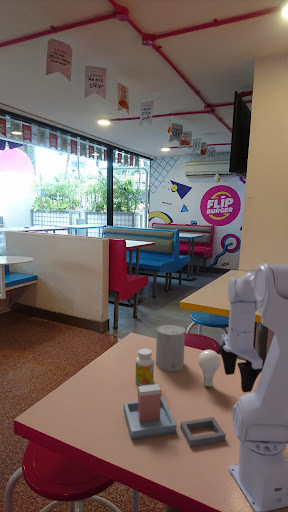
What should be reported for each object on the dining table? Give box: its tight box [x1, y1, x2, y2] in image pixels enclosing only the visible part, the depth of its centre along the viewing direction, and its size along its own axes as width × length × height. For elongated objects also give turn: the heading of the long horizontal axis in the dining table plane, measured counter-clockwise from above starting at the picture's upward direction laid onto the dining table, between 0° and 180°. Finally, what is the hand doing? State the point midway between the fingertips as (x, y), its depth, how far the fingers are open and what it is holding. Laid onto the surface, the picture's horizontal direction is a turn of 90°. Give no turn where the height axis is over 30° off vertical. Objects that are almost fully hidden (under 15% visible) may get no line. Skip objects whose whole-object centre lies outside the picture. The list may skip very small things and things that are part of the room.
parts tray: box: [123, 397, 178, 441], centre depth 73 cm, size 11×11×2 cm
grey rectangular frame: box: [179, 416, 226, 447], centre depth 69 cm, size 6×8×2 cm
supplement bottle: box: [135, 348, 155, 386], centre depth 90 cm, size 5×5×10 cm
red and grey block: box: [137, 383, 162, 423], centre depth 73 cm, size 2×5×8 cm, turn 103°
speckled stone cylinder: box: [155, 323, 186, 372], centre depth 101 cm, size 10×10×12 cm
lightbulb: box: [197, 349, 222, 388], centre depth 88 cm, size 6×6×11 cm
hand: (237, 382), depth 72 cm, fingers open, 7 cm apart
